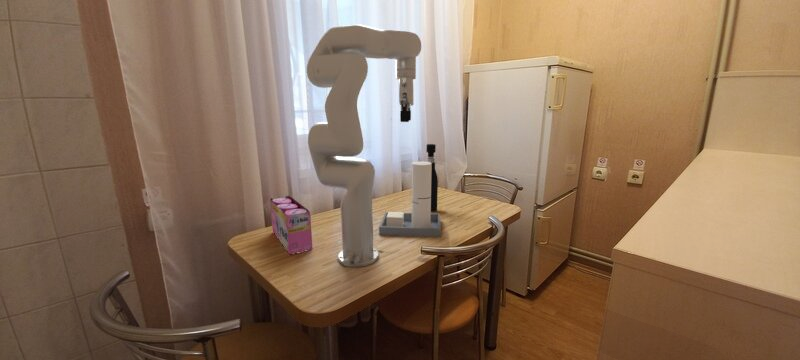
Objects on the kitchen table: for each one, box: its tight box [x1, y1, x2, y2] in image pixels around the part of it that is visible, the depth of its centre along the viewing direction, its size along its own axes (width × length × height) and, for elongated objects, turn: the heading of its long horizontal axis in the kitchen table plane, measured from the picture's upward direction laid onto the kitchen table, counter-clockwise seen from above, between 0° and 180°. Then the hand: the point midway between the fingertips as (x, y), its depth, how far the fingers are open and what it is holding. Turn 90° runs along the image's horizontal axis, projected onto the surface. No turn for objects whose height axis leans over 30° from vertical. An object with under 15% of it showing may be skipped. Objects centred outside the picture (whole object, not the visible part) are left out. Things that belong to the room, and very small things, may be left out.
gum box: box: [269, 195, 314, 255], centre depth 112 cm, size 24×8×14 cm, turn 35°
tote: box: [378, 211, 442, 238], centre depth 122 cm, size 16×22×4 cm
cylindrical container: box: [411, 161, 432, 228], centre depth 119 cm, size 7×7×25 cm
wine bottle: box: [426, 143, 439, 213], centre depth 139 cm, size 6×6×30 cm
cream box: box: [386, 211, 405, 227], centre depth 122 cm, size 6×6×5 cm
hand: (405, 121), depth 125 cm, fingers open, 9 cm apart
